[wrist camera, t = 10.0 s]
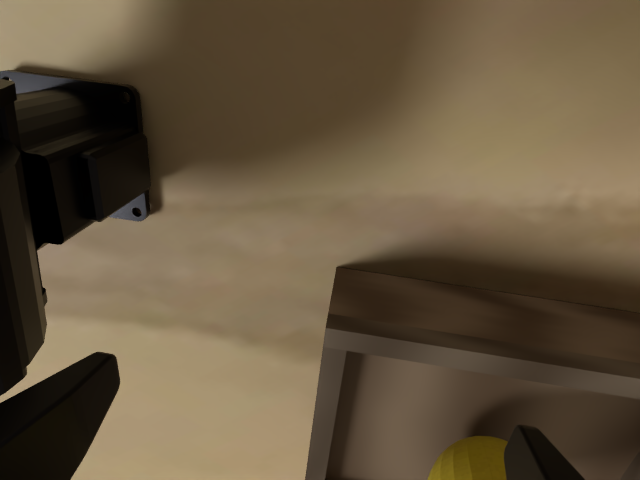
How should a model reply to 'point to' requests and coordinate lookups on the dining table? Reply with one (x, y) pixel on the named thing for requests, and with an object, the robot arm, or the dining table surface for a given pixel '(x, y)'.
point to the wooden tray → (469, 378)
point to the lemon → (471, 460)
